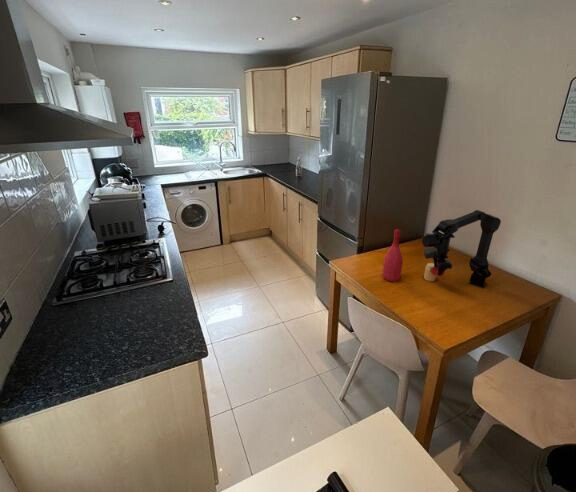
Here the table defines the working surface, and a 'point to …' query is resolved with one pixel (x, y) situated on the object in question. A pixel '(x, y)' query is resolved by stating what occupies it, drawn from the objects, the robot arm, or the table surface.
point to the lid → (436, 271)
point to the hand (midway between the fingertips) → (437, 272)
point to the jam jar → (429, 273)
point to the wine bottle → (393, 260)
